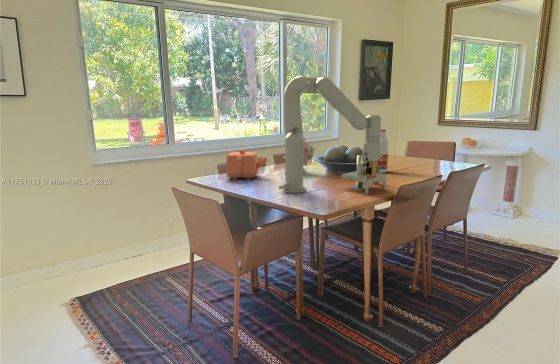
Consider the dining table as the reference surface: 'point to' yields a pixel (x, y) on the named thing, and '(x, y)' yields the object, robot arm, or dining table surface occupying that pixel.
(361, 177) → the grey metal piece
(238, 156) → the teapot
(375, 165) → the mustard rectangular block
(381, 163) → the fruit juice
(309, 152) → the flower
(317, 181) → the dining table surface
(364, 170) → the bracket
